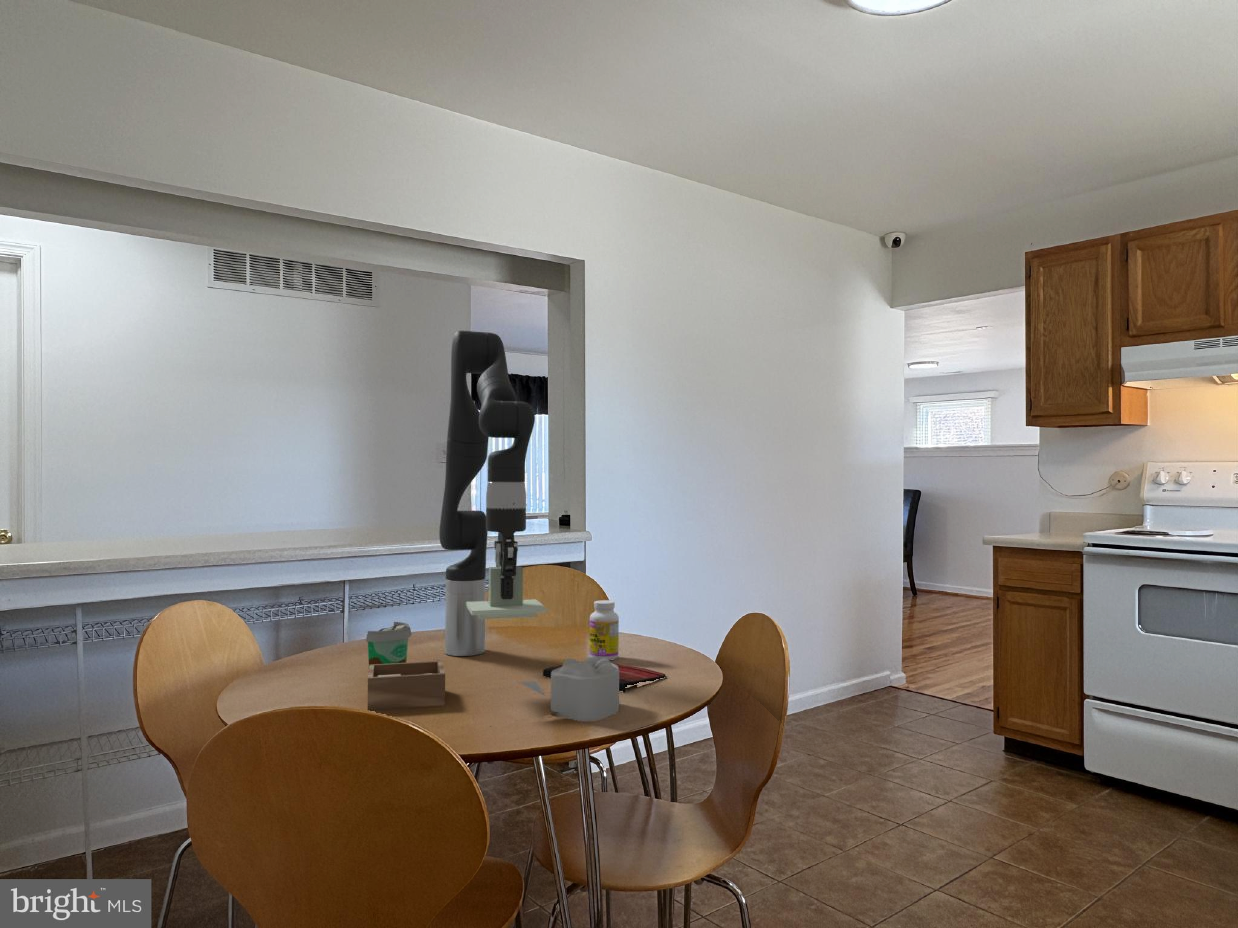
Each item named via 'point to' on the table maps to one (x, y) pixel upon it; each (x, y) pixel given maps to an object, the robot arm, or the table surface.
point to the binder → (624, 675)
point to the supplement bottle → (604, 631)
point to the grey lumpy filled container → (585, 689)
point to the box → (406, 685)
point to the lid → (505, 600)
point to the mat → (533, 686)
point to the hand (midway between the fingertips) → (505, 597)
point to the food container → (388, 644)
